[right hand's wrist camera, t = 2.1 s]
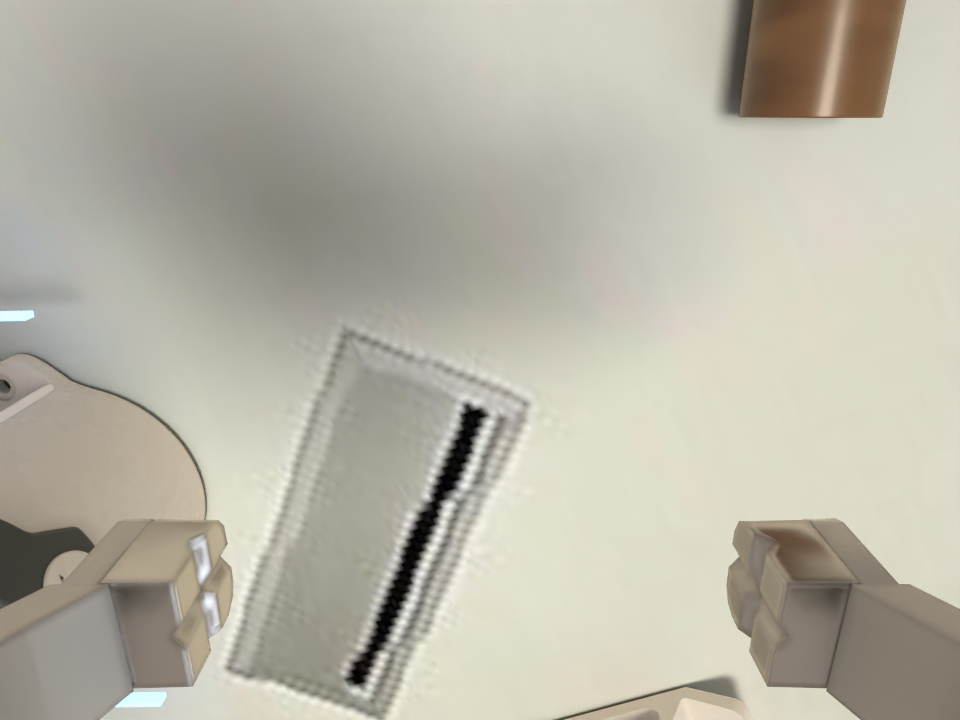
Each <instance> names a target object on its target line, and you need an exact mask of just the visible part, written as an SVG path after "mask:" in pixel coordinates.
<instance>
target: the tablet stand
mask: <svg viewBox="0 0 960 720" xmlns="http://www.w3.org/2000/svg"><path fill="white" fill-rule="evenodd" d="M564 720H752V719H751V715H750V712H749V709H748V707H747V706H746V705H745V704H744V703H743V702H742V701H740V700H738V699H735V698H731V697H727V696H723V695H719V694H714V693H710V692H706V691H701V690H697V689H693V688H688V687H683V688H680V689H676V690H672V691H668V692H665V693H661V694H657V695H654V696H650V697H646V698H642V699H639V700H635V701H631V702H628V703H624V704H620V705H616V706H613V707H609V708H605V709H602V710H598V711H594V712H590V713H587V714H583V715H579V716H575V717H572V718H568V719H564Z"/></svg>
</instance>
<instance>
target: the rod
mask: <svg viewBox="0 0 960 720" xmlns="http://www.w3.org/2000/svg"><path fill="white" fill-rule="evenodd" d="M905 4H906V0H754V2H753V9H752V17H751V25H750V32H749V40H748V48H747V56H746V63H745V71H744V79H743V86H742V94H741V102H740V110H739V117H765V118H882V117H883V113H884V108H885V103H886V98H887V93H888V88H889V83H890V78H891V73H892V68H893V63H894V58H895V53H896V48H897V43H898V38H899V33H900V28H901V24H902V19H903V14H904V9H905Z"/></svg>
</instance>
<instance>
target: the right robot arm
mask: <svg viewBox="0 0 960 720" xmlns="http://www.w3.org/2000/svg"><path fill="white" fill-rule="evenodd" d="M32 317H34V313H33V311H0V321H26V320H28V319H30V318H32ZM4 380H5V381H7V382H8V383H9V385H10V388H9V387H7V386H6V385H5V383H4ZM226 545H227V539H226V534H225V529H224V525H223V524H222V523H221V522H220V521H219V520H205V495H204V489H203V485H202V481H201V478H200V475H199V473H198V471H197V468H196V466H195V464H194V462H193V460H192V459H191V457H190V455H189V454H188V452H187V451H186V449H185V448H184V446H183V445H182V444H181V443H180V441H179V440H178V439H177V438H176V437H175V436H174V434H173V433H172V432H171V431H170V430H169V429H168V428H167V427H166V426H164V425H163V424H162V423H161V422H160V421H159V420H157V419H156V418H155V417H153V416H152V415H151V414H149V413H148V412H146V411H145V410H143V409H142V408H140V407H138V406H136V405H135V404H133V403H131V402H129V401H127V400H125V399H122V398H120V397H117V396H115V395H112V394H109V393H106V392H103V391H100V390H96V389H93V388H89V387H86V386H83V385H80V384H78V383H75V382H73V381H71V380H69V379H68V378H67V377H65V376H64V375H63V374H61V373H60V372H58V371H57V370H55V369H54V368H53V367H51V366H50V365H48V364H46V363H45V362H43V361H42V360H40V359H38V358H36V357H34V356H31V355H28V354H16V355H13V356H11V357H9V358H7V359H5V360H3V361H1V362H0V720H100V719H101V718H102V717H103V716H104V715H106V714H107V713H108V712H109V711H110V710H112V709H113V708H114V707H149V706H161V705H162V703H163V701H164V699H165V697H166V692H139V693H132V692H133V688H157V687H192V686H193V685H194V683H195V681H196V679H197V677H198V675H199V673H200V671H201V669H202V667H203V665H204V663H205V662H206V660H207V658H208V656H209V654H210V652H211V650H210V644H209V638H210V637H211V636H212V635H214V634H215V633H217V632H218V631H220V630H221V629H222V628H223V626H224V623H225V621H226V619H227V617H228V615H229V611H230V606H231V602H232V597H233V576H232V569H231V567H230V566H229V565H228V564H227V563H226V561H225V560H224V559H223V558H222V557H221V554H222V552H223V550H224V549H225V547H226ZM733 545H734V547H735V549H736V550H737V552H738V554H739V557H738V558H737V559H736V560H735V561H734V563H733V564H732V565H731V566H730V567H729V570H728V578H727V595H728V604H729V607H730V611H731V614H732V617H733V619H734V621H735V624H736V626H737V628H738V629H739V630H740V631H742V632H743V633H745V634H746V635H748V636H749V637H750V638H751V644H750V650H749V652H750V654H751V656H752V658H753V660H754V661H755V663H756V665H757V667H758V669H759V671H760V673H761V675H762V677H763V679H764V681H765V683H766V685H767V687H802V688H827V690H826V691H827V692H828V693H829V694H831V695H832V696H833V697H834V698H835V699H837V700H838V701H839V702H840V703H841V704H843V705H844V706H845V707H846V708H847V709H849V710H850V711H851V712H852V713H853V714H855V715H856V716H857V717H858V718H859V719H861V720H960V609H958V608H956V607H954V606H952V605H950V604H948V603H946V602H944V601H942V600H940V599H938V598H936V597H934V596H932V595H930V594H928V593H926V592H924V591H922V590H920V589H918V588H916V587H914V586H912V585H910V584H898V583H897V582H896V580H895V579H894V578H893V577H892V576H891V575H890V574H889V573H888V572H887V570H886V569H885V568H884V567H883V566H882V565H881V564H880V563H879V562H878V560H877V559H876V558H875V557H874V556H873V555H872V554H871V553H870V552H869V550H868V549H867V548H866V547H865V546H864V545H863V544H862V543H861V542H860V540H859V539H858V538H857V537H856V536H855V535H854V534H853V533H852V532H851V530H850V529H849V528H848V527H847V526H846V525H845V524H844V523H843V522H842V521H840V520H837V519H835V518H833V519H804V520H780V521H739V522H738V524H737V527H736V529H735V532H734V538H733Z"/></svg>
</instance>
